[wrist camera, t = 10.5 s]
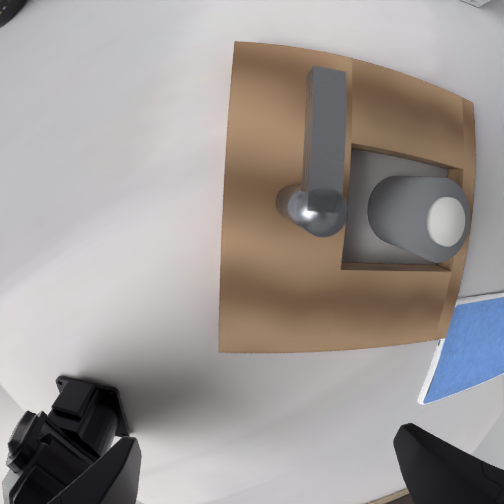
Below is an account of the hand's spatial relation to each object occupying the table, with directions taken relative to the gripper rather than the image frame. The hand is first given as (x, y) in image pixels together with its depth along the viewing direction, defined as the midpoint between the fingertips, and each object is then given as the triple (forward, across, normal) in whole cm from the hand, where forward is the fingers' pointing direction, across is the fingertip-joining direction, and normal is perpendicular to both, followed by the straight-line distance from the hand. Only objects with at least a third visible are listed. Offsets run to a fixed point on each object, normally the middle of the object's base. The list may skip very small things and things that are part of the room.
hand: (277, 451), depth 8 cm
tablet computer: (+14, -28, +6) cm, 32 cm away
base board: (+13, -8, -7) cm, 17 cm away
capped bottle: (+13, -10, -7) cm, 18 cm away
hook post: (+11, -2, -10) cm, 15 cm away
